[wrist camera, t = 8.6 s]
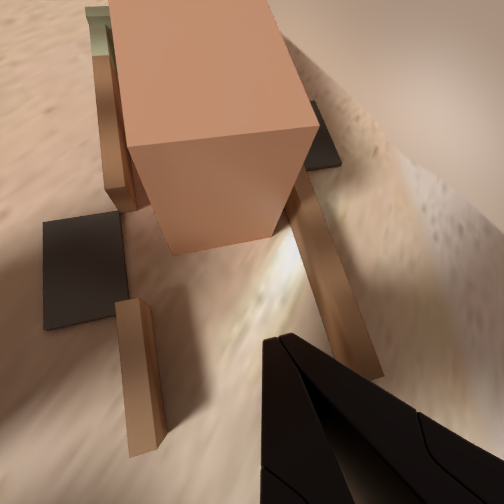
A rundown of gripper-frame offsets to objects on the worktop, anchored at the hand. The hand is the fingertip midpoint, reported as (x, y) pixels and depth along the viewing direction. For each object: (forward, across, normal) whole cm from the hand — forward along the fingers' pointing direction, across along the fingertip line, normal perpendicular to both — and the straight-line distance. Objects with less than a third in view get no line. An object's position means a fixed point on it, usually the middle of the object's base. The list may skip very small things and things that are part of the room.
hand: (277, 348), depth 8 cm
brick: (+15, 0, -5) cm, 16 cm away
